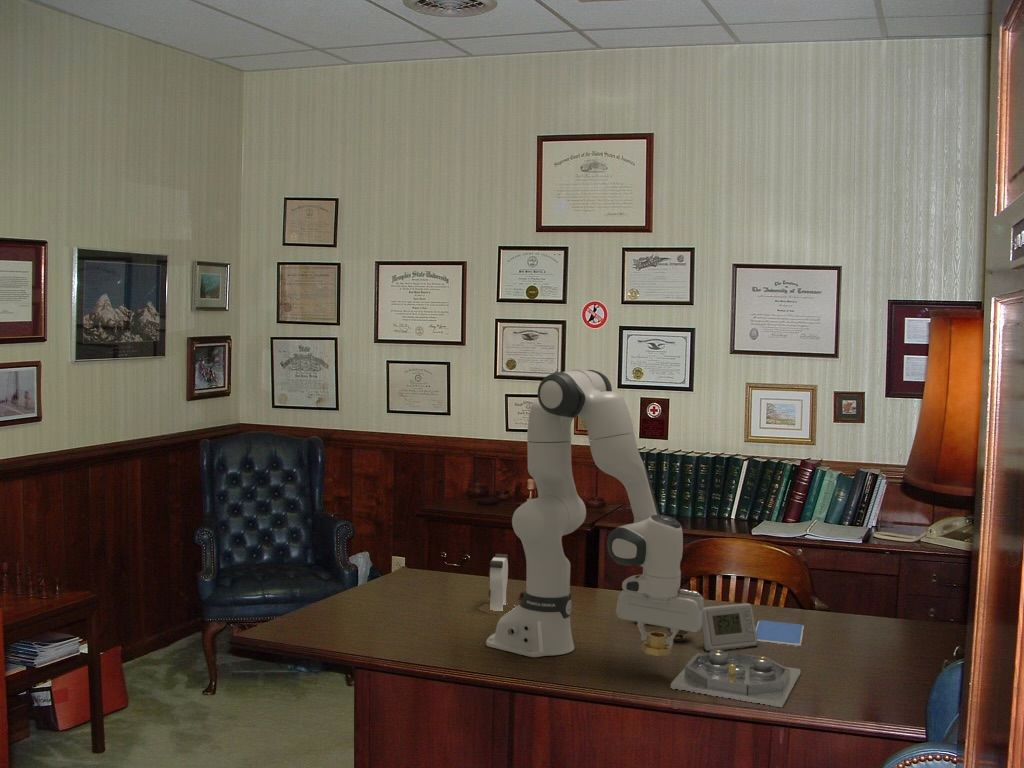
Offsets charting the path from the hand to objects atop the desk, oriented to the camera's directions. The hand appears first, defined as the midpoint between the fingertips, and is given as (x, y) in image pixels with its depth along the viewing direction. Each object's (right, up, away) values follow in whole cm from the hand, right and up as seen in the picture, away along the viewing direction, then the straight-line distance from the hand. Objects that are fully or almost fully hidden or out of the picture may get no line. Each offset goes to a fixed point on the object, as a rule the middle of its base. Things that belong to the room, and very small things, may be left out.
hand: (656, 643), depth 246 cm
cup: (+10, -7, +30) cm, 32 cm away
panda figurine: (-38, -4, +55) cm, 67 cm away
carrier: (+19, -9, -2) cm, 20 cm away
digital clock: (+22, -7, +25) cm, 34 cm away
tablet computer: (+38, -8, +38) cm, 54 cm away
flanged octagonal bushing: (0, -2, 0) cm, 2 cm away
